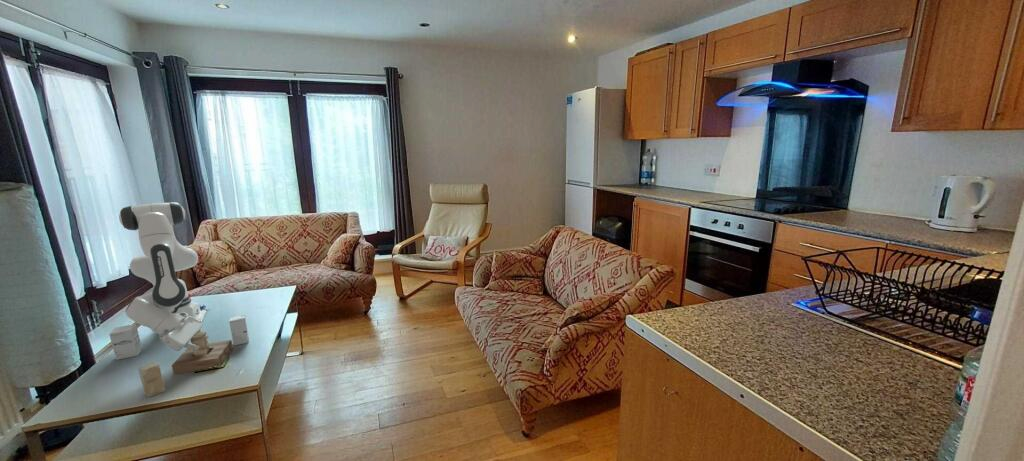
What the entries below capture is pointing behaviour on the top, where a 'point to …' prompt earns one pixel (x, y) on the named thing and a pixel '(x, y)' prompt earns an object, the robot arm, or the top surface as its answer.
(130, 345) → the supplement box
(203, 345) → the peg
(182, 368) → the square hole block
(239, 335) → the skincare box
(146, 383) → the box
